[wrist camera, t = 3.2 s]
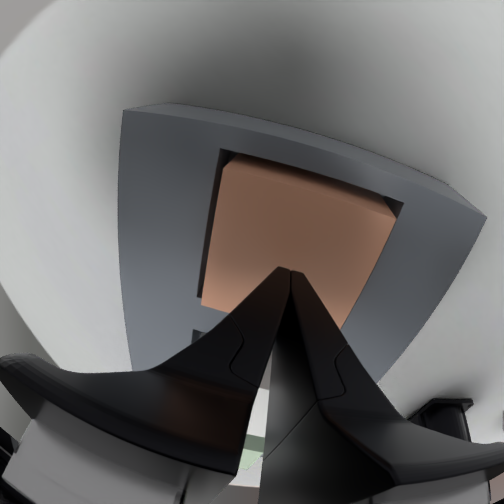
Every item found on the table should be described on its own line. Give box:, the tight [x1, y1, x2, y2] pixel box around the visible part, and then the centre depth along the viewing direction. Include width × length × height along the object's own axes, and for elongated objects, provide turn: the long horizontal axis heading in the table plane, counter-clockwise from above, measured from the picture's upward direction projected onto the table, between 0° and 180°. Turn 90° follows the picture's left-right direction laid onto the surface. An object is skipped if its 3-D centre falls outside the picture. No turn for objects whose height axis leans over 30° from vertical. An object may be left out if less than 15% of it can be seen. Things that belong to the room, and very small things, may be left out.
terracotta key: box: [201, 153, 396, 329], centre depth 11 cm, size 6×6×2 cm
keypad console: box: [118, 103, 487, 457], centre depth 17 cm, size 14×25×4 cm, turn 168°
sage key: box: [239, 434, 265, 470], centre depth 19 cm, size 6×6×2 cm
